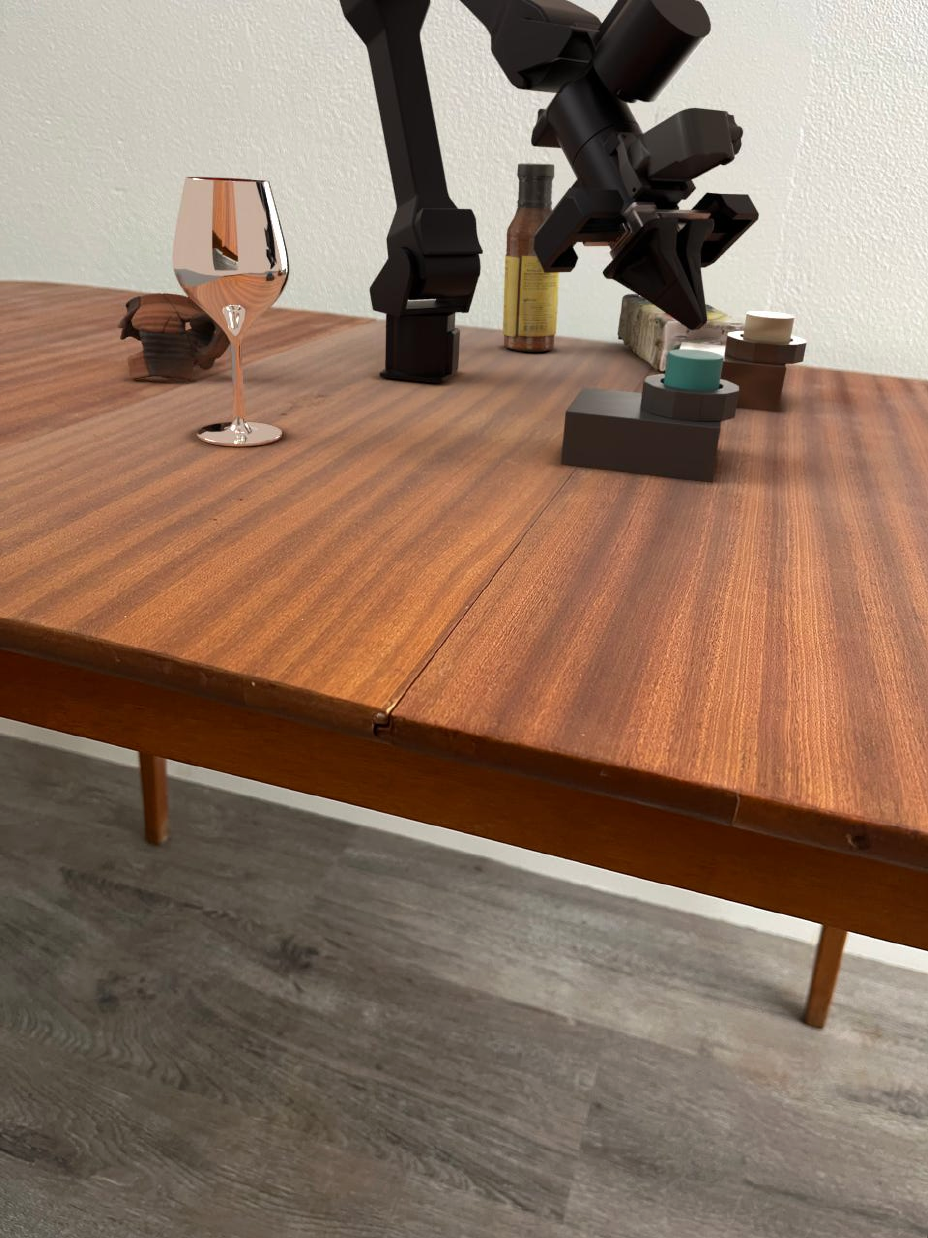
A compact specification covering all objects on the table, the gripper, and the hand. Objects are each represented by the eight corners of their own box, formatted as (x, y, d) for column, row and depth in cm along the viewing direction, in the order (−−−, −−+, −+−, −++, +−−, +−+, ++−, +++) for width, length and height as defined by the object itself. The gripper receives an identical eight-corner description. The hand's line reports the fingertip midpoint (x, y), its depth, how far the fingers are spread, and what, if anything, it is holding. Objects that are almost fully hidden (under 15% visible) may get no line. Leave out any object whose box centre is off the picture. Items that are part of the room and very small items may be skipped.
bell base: (670, 400, 95) (679, 336, 92) (675, 382, 103) (684, 323, 100) (796, 413, 93) (809, 348, 90) (791, 394, 100) (803, 333, 98)
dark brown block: (560, 464, 73) (568, 383, 71) (577, 435, 81) (585, 361, 79) (725, 484, 71) (739, 400, 68) (726, 452, 79) (739, 376, 76)
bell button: (742, 343, 93) (746, 315, 92) (742, 336, 97) (746, 309, 96) (790, 347, 92) (795, 319, 91) (788, 340, 96) (793, 313, 95)
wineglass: (312, 430, 78) (308, 182, 71) (260, 455, 71) (250, 183, 64) (221, 417, 81) (208, 175, 73) (163, 440, 74) (141, 175, 66)
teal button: (661, 391, 72) (666, 356, 71) (665, 381, 75) (669, 347, 74) (717, 397, 71) (723, 361, 70) (718, 386, 74) (724, 352, 73)
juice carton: (748, 376, 107) (757, 317, 105) (660, 375, 106) (667, 315, 103) (688, 345, 125) (695, 294, 123) (613, 343, 124) (618, 292, 121)
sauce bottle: (563, 349, 117) (580, 165, 109) (538, 355, 113) (554, 164, 104) (515, 341, 121) (528, 162, 112) (489, 347, 116) (500, 160, 107)
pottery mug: (97, 383, 91) (94, 296, 92) (159, 410, 100) (156, 331, 101) (211, 362, 87) (207, 271, 88) (265, 391, 96) (261, 309, 97)
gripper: (578, 48, 63) (687, 252, 59) (760, 75, 73) (860, 249, 70) (491, 178, 71) (582, 361, 68) (665, 184, 82) (750, 343, 79)
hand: (699, 326), depth 71 cm, fingers closed
